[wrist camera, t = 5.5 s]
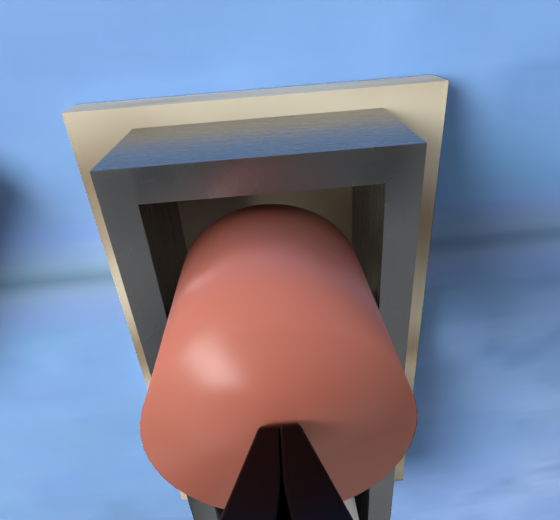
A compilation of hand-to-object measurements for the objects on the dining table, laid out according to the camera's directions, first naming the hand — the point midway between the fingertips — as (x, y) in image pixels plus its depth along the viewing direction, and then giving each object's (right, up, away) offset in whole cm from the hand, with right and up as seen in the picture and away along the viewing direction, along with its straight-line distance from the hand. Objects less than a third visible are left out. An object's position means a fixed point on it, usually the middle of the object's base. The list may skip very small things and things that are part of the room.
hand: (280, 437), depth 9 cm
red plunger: (0, +3, +5) cm, 5 cm away
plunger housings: (0, 0, +11) cm, 11 cm away
